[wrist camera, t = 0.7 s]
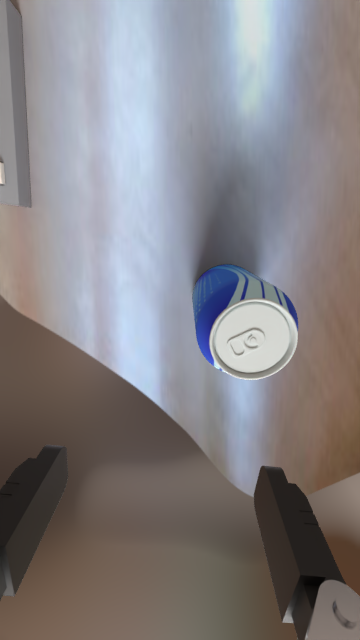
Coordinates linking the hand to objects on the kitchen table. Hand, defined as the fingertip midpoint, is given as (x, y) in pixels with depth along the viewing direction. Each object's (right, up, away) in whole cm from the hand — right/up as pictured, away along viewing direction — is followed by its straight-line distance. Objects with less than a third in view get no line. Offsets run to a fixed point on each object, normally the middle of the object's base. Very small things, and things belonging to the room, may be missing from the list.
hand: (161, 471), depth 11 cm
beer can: (+7, +9, +24) cm, 27 cm away
